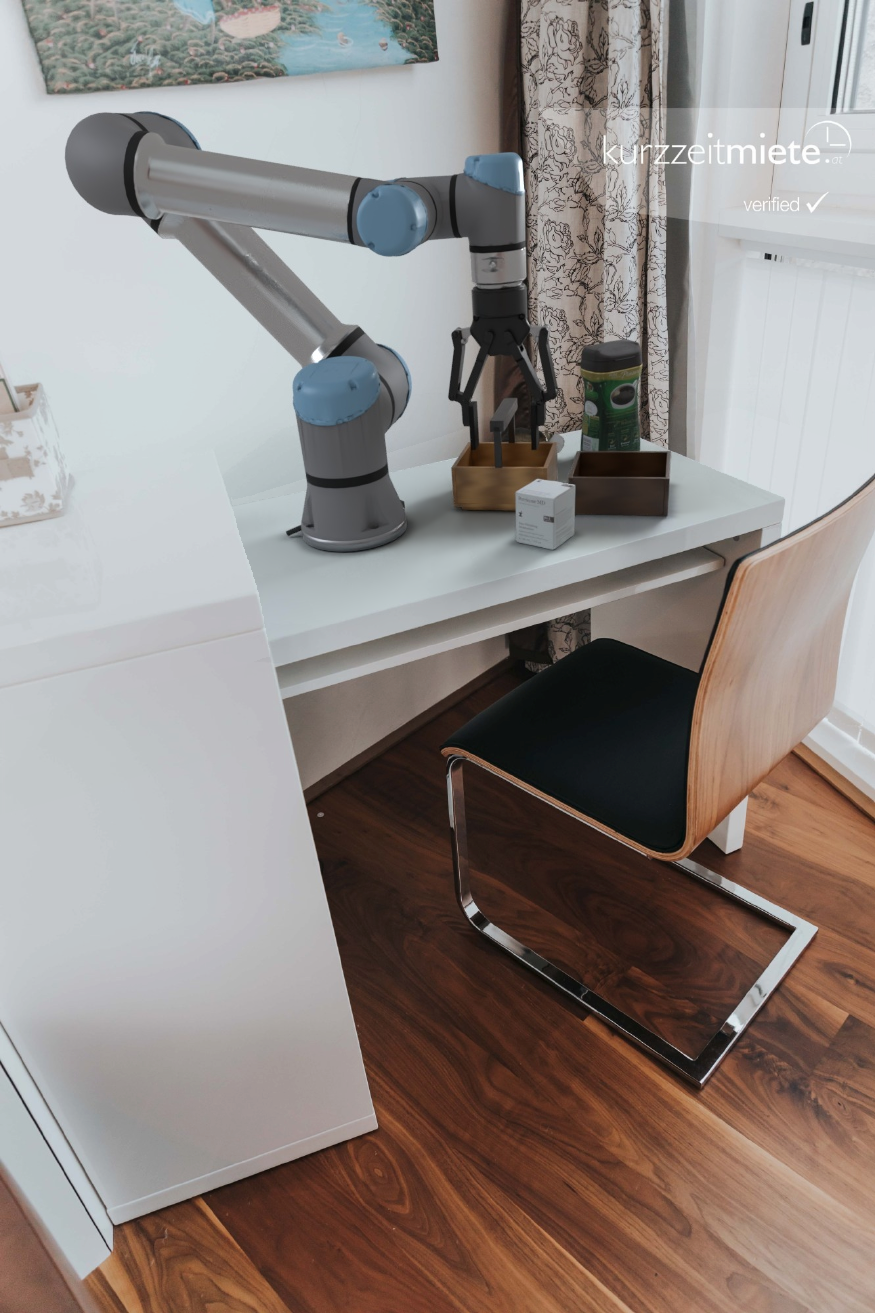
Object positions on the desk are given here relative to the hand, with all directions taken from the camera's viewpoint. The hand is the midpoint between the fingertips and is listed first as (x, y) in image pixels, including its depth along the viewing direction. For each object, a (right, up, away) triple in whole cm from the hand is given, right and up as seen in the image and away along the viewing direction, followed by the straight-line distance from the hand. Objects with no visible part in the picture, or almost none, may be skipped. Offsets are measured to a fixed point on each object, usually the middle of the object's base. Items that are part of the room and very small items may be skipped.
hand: (504, 446), depth 131 cm
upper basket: (+1, -7, +4) cm, 8 cm away
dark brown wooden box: (+17, -8, 0) cm, 19 cm away
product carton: (+5, -15, -10) cm, 19 cm away
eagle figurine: (+6, +1, +16) cm, 17 cm away
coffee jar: (+19, +2, +17) cm, 26 cm away
